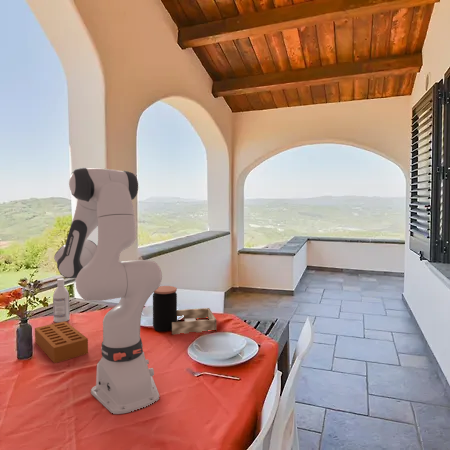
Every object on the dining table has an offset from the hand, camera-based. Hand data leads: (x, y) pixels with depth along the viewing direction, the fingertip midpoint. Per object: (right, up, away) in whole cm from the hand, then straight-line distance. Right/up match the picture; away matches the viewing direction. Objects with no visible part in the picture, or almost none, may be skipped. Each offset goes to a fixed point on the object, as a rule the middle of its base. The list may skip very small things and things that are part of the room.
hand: (112, 297), depth 149 cm
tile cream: (+33, -15, +12) cm, 38 cm away
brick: (-15, -17, -15) cm, 27 cm away
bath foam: (-29, -14, +14) cm, 35 cm away
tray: (+33, -15, +9) cm, 38 cm away
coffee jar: (+22, -15, +6) cm, 27 cm away
